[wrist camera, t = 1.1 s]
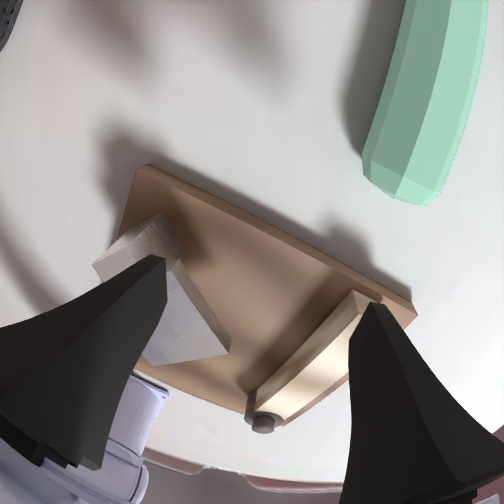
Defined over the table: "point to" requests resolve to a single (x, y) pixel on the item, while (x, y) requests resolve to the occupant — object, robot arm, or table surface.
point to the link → (307, 368)
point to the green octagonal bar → (426, 98)
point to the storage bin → (7, 18)
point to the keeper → (169, 295)
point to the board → (247, 289)
